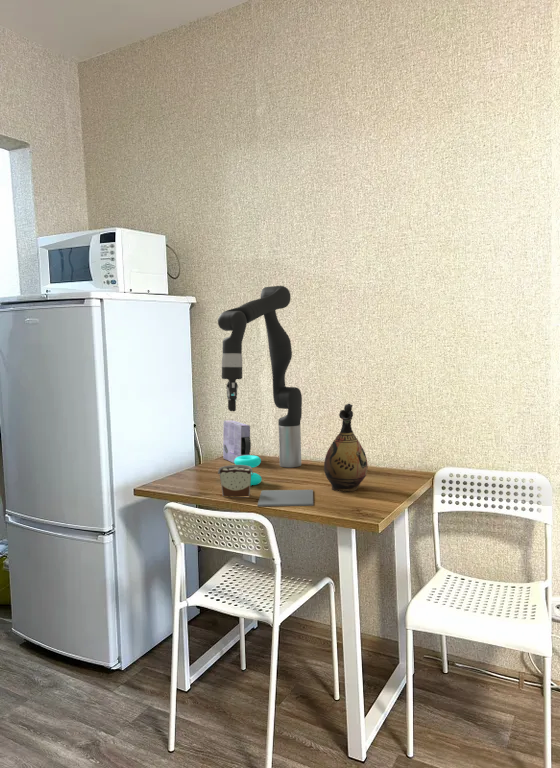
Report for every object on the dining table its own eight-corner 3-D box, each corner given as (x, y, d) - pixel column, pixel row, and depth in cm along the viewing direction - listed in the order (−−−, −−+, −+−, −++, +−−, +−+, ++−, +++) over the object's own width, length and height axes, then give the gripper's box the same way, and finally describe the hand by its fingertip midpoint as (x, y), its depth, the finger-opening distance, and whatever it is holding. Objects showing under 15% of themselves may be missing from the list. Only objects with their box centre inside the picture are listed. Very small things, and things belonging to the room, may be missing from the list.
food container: (257, 492, 214) (256, 464, 213) (253, 497, 207) (252, 468, 207) (223, 492, 216) (222, 464, 215) (218, 496, 210) (217, 468, 209)
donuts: (238, 454, 233) (263, 454, 230) (239, 480, 233) (264, 480, 231) (230, 459, 223) (257, 460, 221) (231, 486, 224) (258, 487, 222)
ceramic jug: (367, 494, 207) (365, 407, 205) (322, 493, 210) (320, 407, 207) (369, 482, 224) (367, 401, 221) (327, 481, 227) (325, 401, 224)
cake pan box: (252, 465, 260) (251, 424, 258) (241, 466, 257) (240, 425, 256) (232, 458, 276) (231, 419, 275) (222, 459, 274) (221, 420, 272)
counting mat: (261, 492, 214) (261, 490, 214) (312, 491, 213) (312, 489, 213) (257, 506, 196) (257, 504, 196) (313, 505, 195) (313, 503, 195)
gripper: (244, 366, 215) (243, 411, 215) (240, 366, 229) (240, 409, 229) (222, 365, 214) (222, 411, 214) (220, 366, 228) (220, 409, 228)
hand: (231, 410), depth 222 cm, fingers open, 8 cm apart
